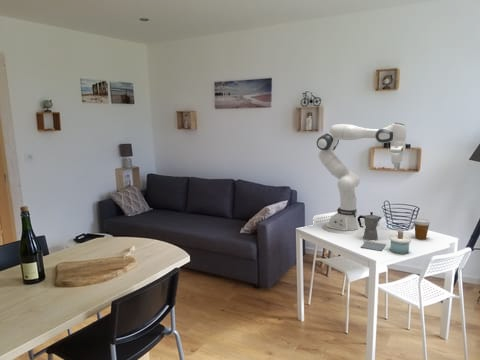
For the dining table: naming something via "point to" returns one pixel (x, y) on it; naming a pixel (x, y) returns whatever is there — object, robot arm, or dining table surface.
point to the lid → (400, 238)
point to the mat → (373, 246)
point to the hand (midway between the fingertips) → (396, 169)
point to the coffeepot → (370, 226)
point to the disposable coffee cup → (421, 228)
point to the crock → (399, 247)
